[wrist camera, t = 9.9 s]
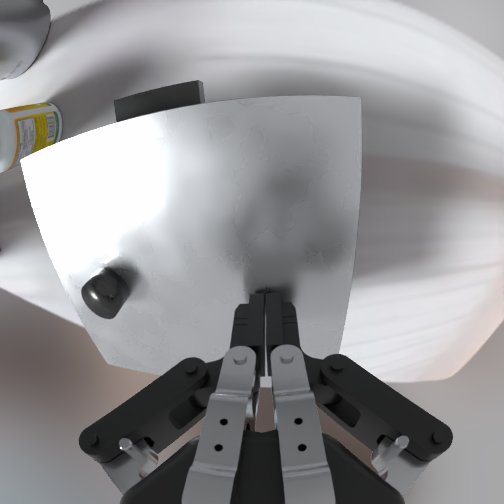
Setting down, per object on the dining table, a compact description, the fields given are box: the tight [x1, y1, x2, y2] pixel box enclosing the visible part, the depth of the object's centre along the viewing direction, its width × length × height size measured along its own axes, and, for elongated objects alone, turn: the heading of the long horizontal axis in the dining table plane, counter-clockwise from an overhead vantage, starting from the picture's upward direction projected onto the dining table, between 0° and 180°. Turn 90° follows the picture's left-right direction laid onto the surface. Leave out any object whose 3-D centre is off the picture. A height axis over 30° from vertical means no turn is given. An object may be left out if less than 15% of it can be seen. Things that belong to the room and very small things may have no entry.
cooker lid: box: [21, 95, 362, 387], centre depth 14 cm, size 18×19×3 cm
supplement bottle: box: [0, 103, 62, 173], centre depth 14 cm, size 5×5×10 cm
